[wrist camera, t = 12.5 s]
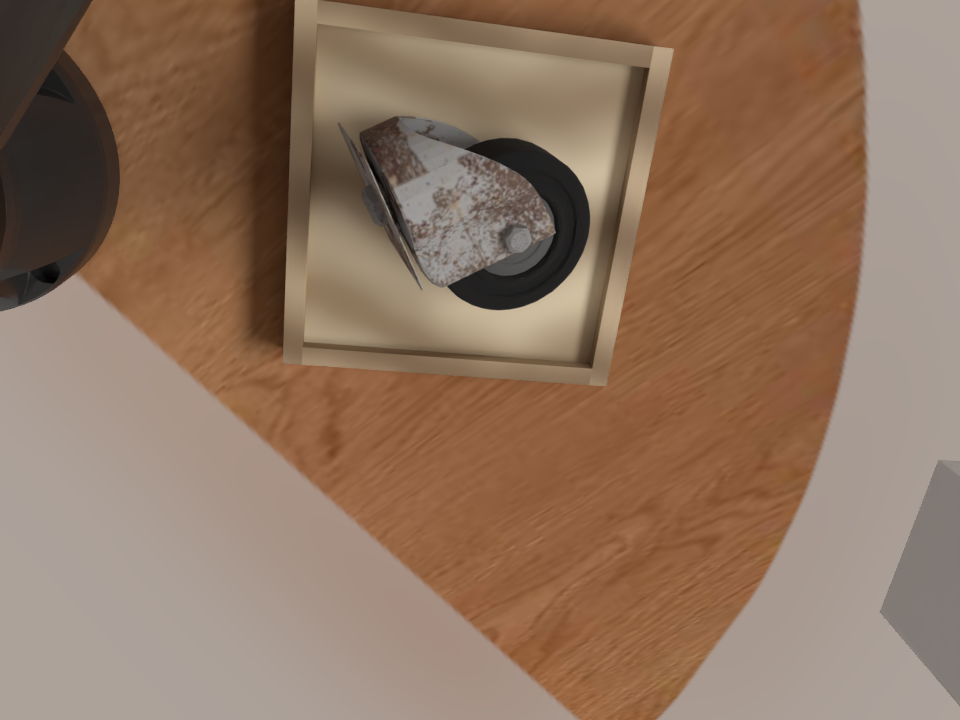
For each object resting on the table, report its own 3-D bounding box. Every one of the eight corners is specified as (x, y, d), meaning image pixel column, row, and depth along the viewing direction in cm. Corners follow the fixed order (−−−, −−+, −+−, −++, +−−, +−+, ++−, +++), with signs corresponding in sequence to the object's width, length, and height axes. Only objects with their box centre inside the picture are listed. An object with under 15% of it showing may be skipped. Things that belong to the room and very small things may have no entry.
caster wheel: (571, 236, 45) (412, 313, 44) (513, 39, 38) (325, 125, 37) (626, 285, 39) (446, 373, 38) (571, 65, 33) (352, 166, 32)
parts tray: (299, -2, 37) (295, -4, 36) (660, 48, 40) (673, 49, 38) (287, 349, 44) (282, 363, 42) (597, 372, 47) (606, 386, 45)
